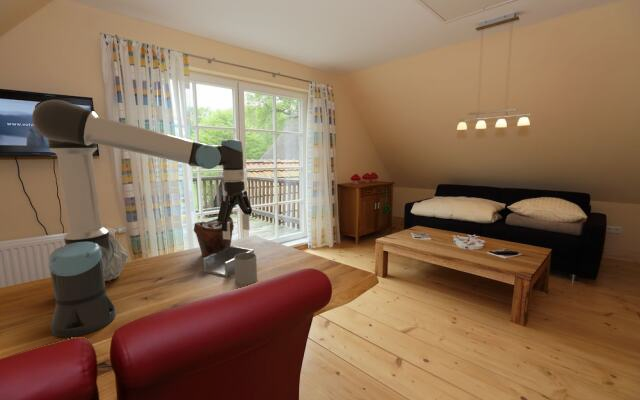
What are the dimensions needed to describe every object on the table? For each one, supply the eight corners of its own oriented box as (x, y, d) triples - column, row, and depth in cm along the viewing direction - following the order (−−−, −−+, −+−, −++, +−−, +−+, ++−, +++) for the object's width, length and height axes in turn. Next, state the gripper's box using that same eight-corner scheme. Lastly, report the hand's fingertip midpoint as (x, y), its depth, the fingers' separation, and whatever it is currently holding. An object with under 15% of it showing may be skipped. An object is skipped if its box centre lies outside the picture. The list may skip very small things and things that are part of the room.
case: (186, 259, 140) (184, 222, 137) (209, 246, 160) (207, 213, 157) (221, 262, 137) (220, 224, 134) (240, 248, 157) (239, 215, 154)
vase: (89, 273, 125) (83, 230, 122) (134, 267, 131) (130, 226, 128) (74, 290, 110) (66, 241, 107) (125, 283, 116) (120, 237, 113)
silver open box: (227, 277, 122) (226, 263, 121) (204, 271, 127) (203, 258, 126) (254, 262, 138) (253, 249, 137) (232, 257, 143) (232, 245, 142)
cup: (231, 283, 116) (229, 258, 115) (242, 274, 124) (241, 251, 122) (250, 286, 114) (249, 261, 112) (260, 277, 122) (259, 253, 120)
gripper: (222, 184, 102) (226, 244, 106) (259, 177, 125) (260, 226, 129) (204, 184, 104) (208, 242, 108) (243, 177, 128) (245, 225, 131)
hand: (237, 234), depth 118 cm, fingers open, 13 cm apart
